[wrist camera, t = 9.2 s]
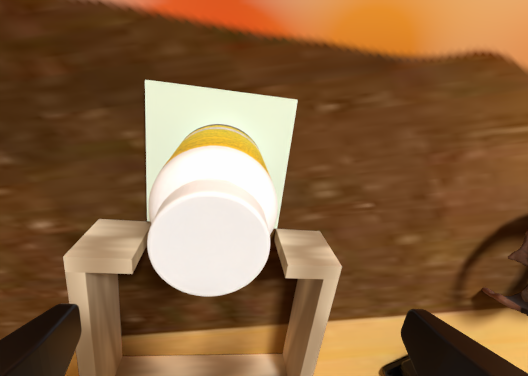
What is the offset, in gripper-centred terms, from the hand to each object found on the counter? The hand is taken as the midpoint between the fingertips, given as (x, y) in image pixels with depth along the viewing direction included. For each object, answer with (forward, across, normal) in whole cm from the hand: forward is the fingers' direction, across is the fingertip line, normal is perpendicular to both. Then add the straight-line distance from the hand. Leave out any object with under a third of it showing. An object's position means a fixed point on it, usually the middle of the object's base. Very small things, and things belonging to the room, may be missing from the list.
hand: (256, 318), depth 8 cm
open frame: (+13, +1, +11) cm, 17 cm away
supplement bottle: (+12, +2, -1) cm, 12 cm away
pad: (+13, +2, -1) cm, 13 cm away
